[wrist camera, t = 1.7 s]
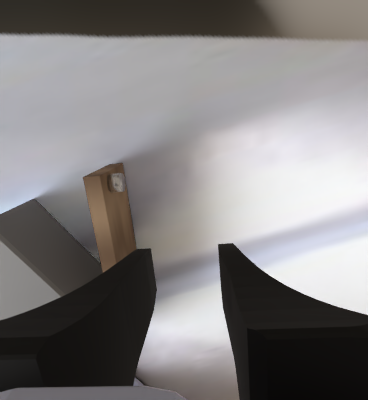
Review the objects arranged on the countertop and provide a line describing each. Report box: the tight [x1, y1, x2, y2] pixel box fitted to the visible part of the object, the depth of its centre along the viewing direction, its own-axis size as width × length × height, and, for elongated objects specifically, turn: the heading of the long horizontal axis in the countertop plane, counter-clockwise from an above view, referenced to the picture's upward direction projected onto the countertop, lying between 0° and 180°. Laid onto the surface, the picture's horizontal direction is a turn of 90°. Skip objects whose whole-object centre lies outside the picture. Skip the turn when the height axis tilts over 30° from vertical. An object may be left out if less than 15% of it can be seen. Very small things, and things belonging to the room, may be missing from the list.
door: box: [83, 163, 136, 272], centre depth 20 cm, size 12×2×5 cm, turn 6°
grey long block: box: [0, 199, 103, 320], centre depth 21 cm, size 12×5×5 cm, turn 41°
